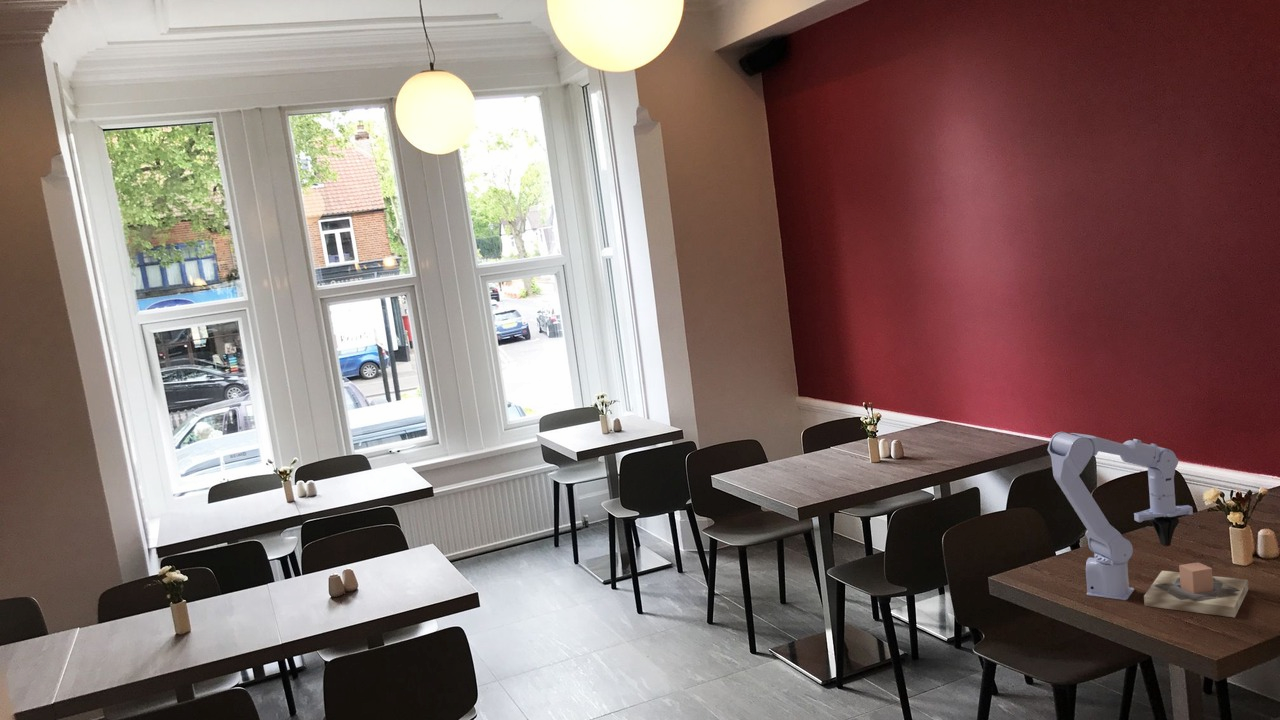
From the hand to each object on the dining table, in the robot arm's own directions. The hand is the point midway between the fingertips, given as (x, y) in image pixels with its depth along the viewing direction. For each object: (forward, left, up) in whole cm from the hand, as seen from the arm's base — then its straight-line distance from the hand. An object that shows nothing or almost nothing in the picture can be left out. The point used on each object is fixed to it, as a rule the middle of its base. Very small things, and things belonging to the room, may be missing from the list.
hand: (1165, 544), depth 245 cm
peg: (+8, -9, -10) cm, 16 cm away
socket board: (+8, -9, -10) cm, 15 cm away
